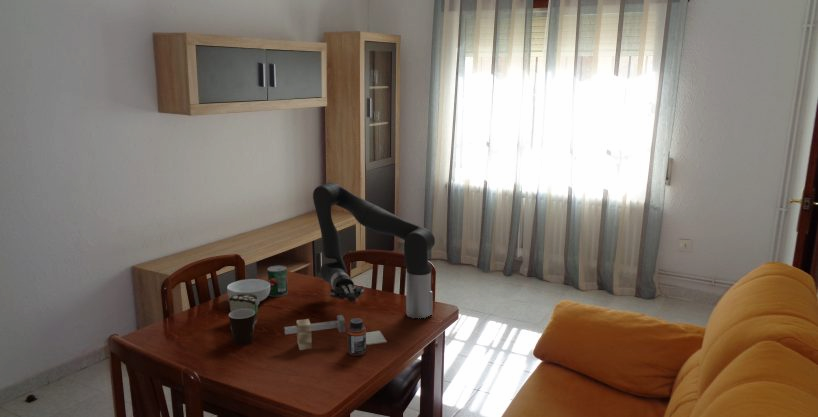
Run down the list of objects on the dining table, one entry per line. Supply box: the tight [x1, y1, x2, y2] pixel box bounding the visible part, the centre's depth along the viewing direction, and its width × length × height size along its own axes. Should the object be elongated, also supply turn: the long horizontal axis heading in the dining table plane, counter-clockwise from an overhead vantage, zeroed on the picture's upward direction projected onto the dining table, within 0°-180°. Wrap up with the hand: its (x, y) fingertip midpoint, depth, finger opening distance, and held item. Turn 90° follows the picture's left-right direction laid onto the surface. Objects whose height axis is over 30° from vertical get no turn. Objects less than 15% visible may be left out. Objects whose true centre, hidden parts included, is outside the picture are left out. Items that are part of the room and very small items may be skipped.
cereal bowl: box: [226, 278, 270, 302], centre depth 239 cm, size 17×17×7 cm
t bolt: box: [283, 314, 346, 335], centre depth 200 cm, size 20×4×4 cm, turn 109°
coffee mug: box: [228, 309, 255, 346], centre depth 204 cm, size 12×9×10 cm
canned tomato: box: [266, 264, 289, 298], centre depth 248 cm, size 8×8×11 cm
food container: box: [227, 293, 260, 327], centre depth 220 cm, size 12×6×10 cm, turn 71°
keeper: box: [296, 318, 313, 351], centre depth 199 cm, size 4×5×9 cm
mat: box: [366, 330, 387, 346], centre depth 206 cm, size 9×9×1 cm
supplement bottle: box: [347, 317, 367, 357], centre depth 195 cm, size 6×6×11 cm
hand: (352, 299), depth 211 cm, fingers closed
